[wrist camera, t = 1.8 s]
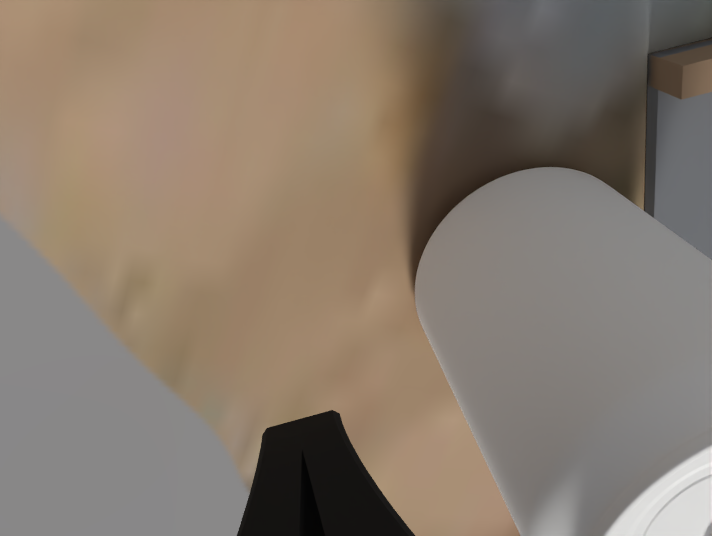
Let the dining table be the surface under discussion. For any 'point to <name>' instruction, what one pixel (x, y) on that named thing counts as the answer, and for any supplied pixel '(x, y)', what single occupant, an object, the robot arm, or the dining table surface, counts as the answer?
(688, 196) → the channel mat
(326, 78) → the dining table surface
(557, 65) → the dining table surface
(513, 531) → the dining table surface
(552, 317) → the beverage can
